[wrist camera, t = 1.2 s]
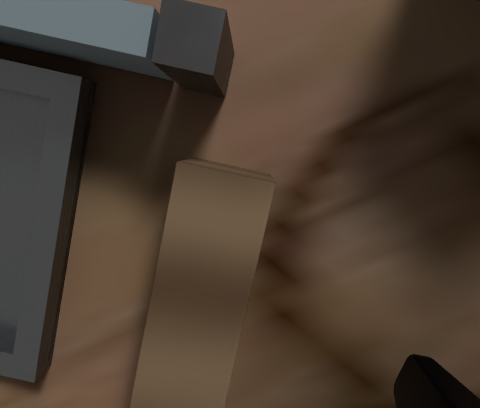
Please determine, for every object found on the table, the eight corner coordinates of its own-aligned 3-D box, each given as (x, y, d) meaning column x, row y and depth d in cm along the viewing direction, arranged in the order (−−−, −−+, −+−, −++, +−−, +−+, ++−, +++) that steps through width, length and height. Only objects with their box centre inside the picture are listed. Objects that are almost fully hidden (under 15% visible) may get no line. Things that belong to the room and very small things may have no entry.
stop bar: (226, 364, 21) (218, 432, 16) (157, 349, 21) (128, 412, 16) (269, 173, 19) (275, 183, 14) (195, 157, 19) (176, 161, 14)
